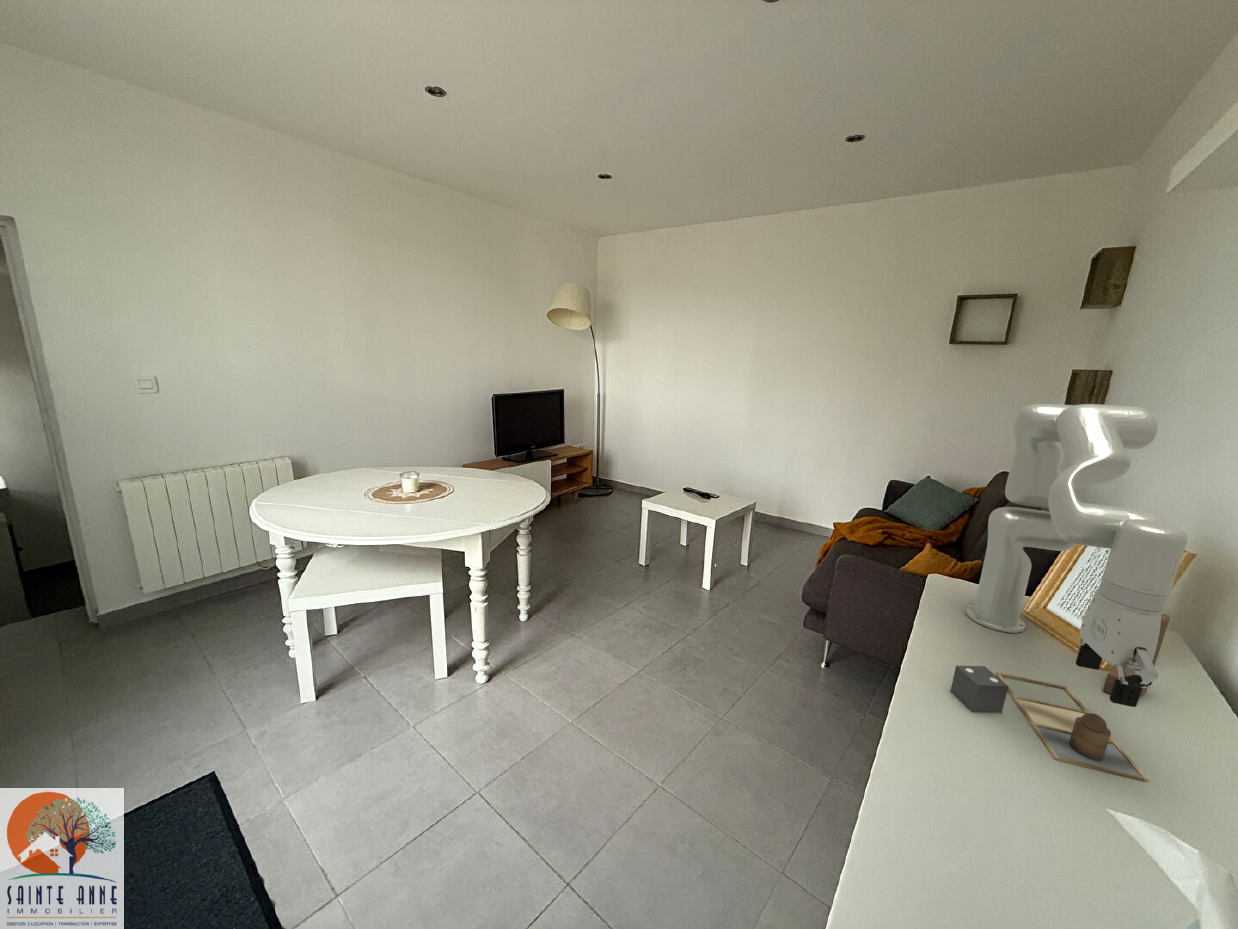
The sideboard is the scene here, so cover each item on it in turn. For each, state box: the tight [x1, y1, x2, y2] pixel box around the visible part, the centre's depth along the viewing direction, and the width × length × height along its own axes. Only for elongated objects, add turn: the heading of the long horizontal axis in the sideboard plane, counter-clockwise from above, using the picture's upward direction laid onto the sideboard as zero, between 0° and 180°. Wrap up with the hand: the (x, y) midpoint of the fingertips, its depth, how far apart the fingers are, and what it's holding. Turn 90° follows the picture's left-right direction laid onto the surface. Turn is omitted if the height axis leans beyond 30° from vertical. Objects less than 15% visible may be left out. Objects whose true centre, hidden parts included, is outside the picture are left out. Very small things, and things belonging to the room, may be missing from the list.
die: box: [950, 665, 1009, 713], centre depth 95 cm, size 6×6×6 cm
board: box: [995, 671, 1150, 783], centre depth 91 cm, size 24×12×1 cm, turn 161°
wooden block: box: [1102, 612, 1171, 697], centre depth 98 cm, size 9×4×18 cm, turn 119°
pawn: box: [1069, 712, 1112, 761], centre depth 83 cm, size 4×4×7 cm
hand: (1103, 684), depth 81 cm, fingers open, 9 cm apart
